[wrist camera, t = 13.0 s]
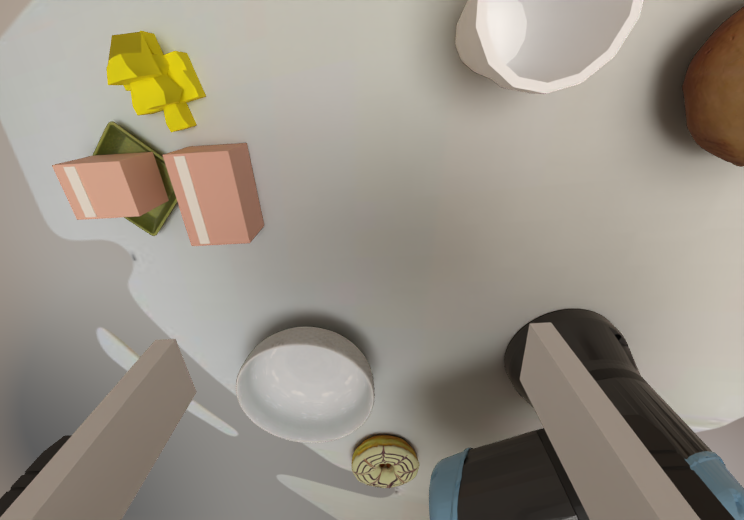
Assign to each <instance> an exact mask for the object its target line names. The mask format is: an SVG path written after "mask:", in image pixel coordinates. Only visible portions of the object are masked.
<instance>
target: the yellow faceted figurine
mask: <svg viewBox="0 0 744 520" xmlns="http://www.w3.org/2000/svg"><path fill="white" fill-rule="evenodd" d="M107 79H108V85H124V87H125V89H126V91H131V97H132V104H133V108H134V110H135V111H136V113H137V115H146V114H153V113H156V112H160V111H163V110H164V115H165V120H166V124H167V126H168V128H169V129H170V131H171V132H174V131H179V130H184V129H187V128H190V127H193V126H196V125H197V124H196V122H195V120H194V118H193V116H192V114H191V112H190V109H189V107H188V105H187V102H190V101H193V100H196V99H199V98H203V97H206V95H205V93H204V91H203V88H202V86H201V84H200V82H199V79H198V77H197V75H196V73H195V70H194V68H193V66H192V63H191V61H190V59H189V57H188V54H187V53H183V52H178V51H173V52H170V53H167V54H165V55H164V54H163V52H162V50H161V48H160V46H159V43H158V41H157V39H156V37H155V35H154V34H152V33H148V32H144V31H140V32H135V33H128V34H120V35H112V40H111V47H110V54H109V61H108V66H107Z"/></svg>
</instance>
